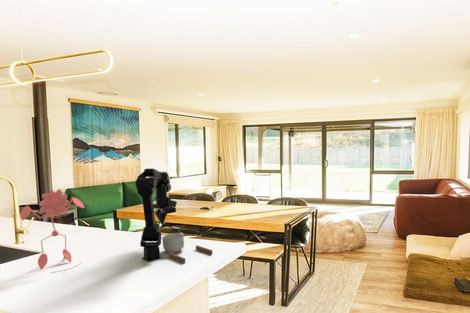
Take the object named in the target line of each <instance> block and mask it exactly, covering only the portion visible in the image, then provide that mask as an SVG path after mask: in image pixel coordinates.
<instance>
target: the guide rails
mask: <svg viewBox="0 0 470 313" xmlns="http://www.w3.org/2000/svg"><path fill="white" fill-rule="evenodd" d="M195 251H198V252H200V253H201V252H202V253H205V254H207V255H213V249H209V248H208V247H204V246H201V245H197V244H196V245H195ZM168 258H169V259H171V260H174V261H177V262H179V263H182V264H186V258H185V257H183V256H180V255H177V254H176V253H169V252H168Z"/></svg>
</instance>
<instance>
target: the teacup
mask: <svg viewBox="0 0 470 313" xmlns="http://www.w3.org/2000/svg"><path fill="white" fill-rule="evenodd" d="M184 239H185V234H184V233H183V232H179V233H175V232H174V233H169V234H165V235H163V236H161V241H162V247H163V250H165V251H166V252H167V253H168V254H169V253H172V254H176V253H179V252H180V251H181V250H182V249H183V248H184V247H185V241H184Z"/></svg>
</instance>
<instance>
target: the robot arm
mask: <svg viewBox="0 0 470 313" xmlns="http://www.w3.org/2000/svg"><path fill="white" fill-rule="evenodd" d="M135 189H136V191H137V194H138V195H139V196H140V197H141V201H142V208H143V216H144V224H145V225H144V226H145V227H144V228H143V230H142V234H141V239H140V242H139V243H140V247H141V248H143V256H142V259H143V260H146V261H147V262H152V261H155V260H159V259H161V256H160V255H161V253H160V245H161V244H162V231H161V225H164V224H165V220H166V218H167V215H168V214H172V213H173V214H174V213H177V204H178V201H176V200H173V199H171V198H170V197H169V196H168V193H169V192H170V191H171V189H172V186H171V180H170V176H169V173H168V172H167V171H158V170H157V169H156V168H145V169H144V170H143V172H142V173H140V174H139V175H138V176H137V178H136V179H135ZM154 193H155V197H153V194H154ZM153 199H154V200H155V203H154V200H153ZM156 218H157V219H158V222H159V223H157V222H156Z"/></svg>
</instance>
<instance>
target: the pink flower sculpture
mask: <svg viewBox="0 0 470 313" xmlns="http://www.w3.org/2000/svg"><path fill="white" fill-rule="evenodd" d="M41 198H42V199H43V200H41V201H40V202H39V203H38V205H39V206H40V209H39V213H41V214H42V213H43V214H44V213H45V215H42V216H39V215H38V214H37V213H36V212H35V211H34V210H33V209H32V208H31V207H30V206H29V205H26V206H24V207H23V208H22V209H21V210H20V212H19V217H20V219H21V221H24V220H25V219H26V218H28V217H29V215H30V214H31V213H33V215H35V216H36V217H37V218H38V219H42V218H45V217H47V218H51V224H52V227H53V231H52V232H51V235H49V236H47V237H45V238H43V239H41V240H40V244H41V251H42V254H40V255H39V257H38V259H37V265H38V266H39V267H38V268H40V270H43V269H44V268H45V266H47V263H48V259H49V257H48V254H46V253H44V247H43V241H44V240H46V239H49V238H50V237H52V236H53V237H57V236H58V235H59V236H62V237H64V239H65V240H64V241H65V242H64V244H65V245H64V249H62V255H63V259H62V261H63V262H64V261H65V260H66V261H68V262H72V254H71V252H70V251H69V250H68V249H67V235H65V234H62V233H59V231H58V230H56V227H55V224H54V216H55V217H59V216H60V215H61V214H67V212H68V210H69V208H70V205H71V204H72V202H73V204H74V205H75V206H77V208H78V207H79V208H81V209H85V205H84V203H83V202H82V201H81V200H80V199H79V198H77V197H73V196H71V198H70V200H67V199H68V194H66V193H65V194H63V190H61V189H60V188H59V189H57V190H56V191H55V190H49V192H48V193H47V192H46V193H42V194H41ZM66 206H67V207H66ZM80 264H82V262H80ZM75 267H76V268H77V265H75V266H73V267H70V268H67V269H64V270H61V272H63V271H64V272H65V271H68V270H70V269H73V268H75ZM59 272H60V270H58V271H57V273H59ZM51 273H53V274H54V273H55V271H51V272H50V274H51Z"/></svg>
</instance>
